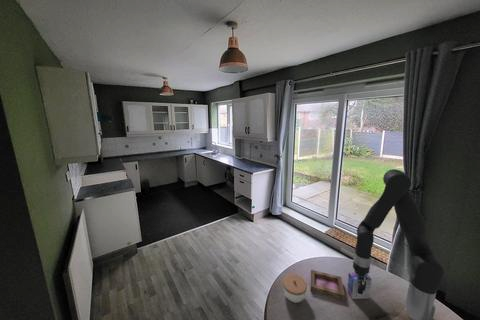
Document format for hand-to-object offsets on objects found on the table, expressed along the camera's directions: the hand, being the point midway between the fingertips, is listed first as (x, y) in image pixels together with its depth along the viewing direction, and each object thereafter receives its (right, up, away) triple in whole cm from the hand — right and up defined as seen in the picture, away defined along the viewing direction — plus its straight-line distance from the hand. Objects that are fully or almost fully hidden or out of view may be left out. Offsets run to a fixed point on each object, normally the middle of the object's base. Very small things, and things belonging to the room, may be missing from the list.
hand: (358, 287), depth 105 cm
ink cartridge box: (0, -4, +1) cm, 4 cm away
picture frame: (-15, -4, +7) cm, 17 cm away
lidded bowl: (-35, -6, +1) cm, 36 cm away
